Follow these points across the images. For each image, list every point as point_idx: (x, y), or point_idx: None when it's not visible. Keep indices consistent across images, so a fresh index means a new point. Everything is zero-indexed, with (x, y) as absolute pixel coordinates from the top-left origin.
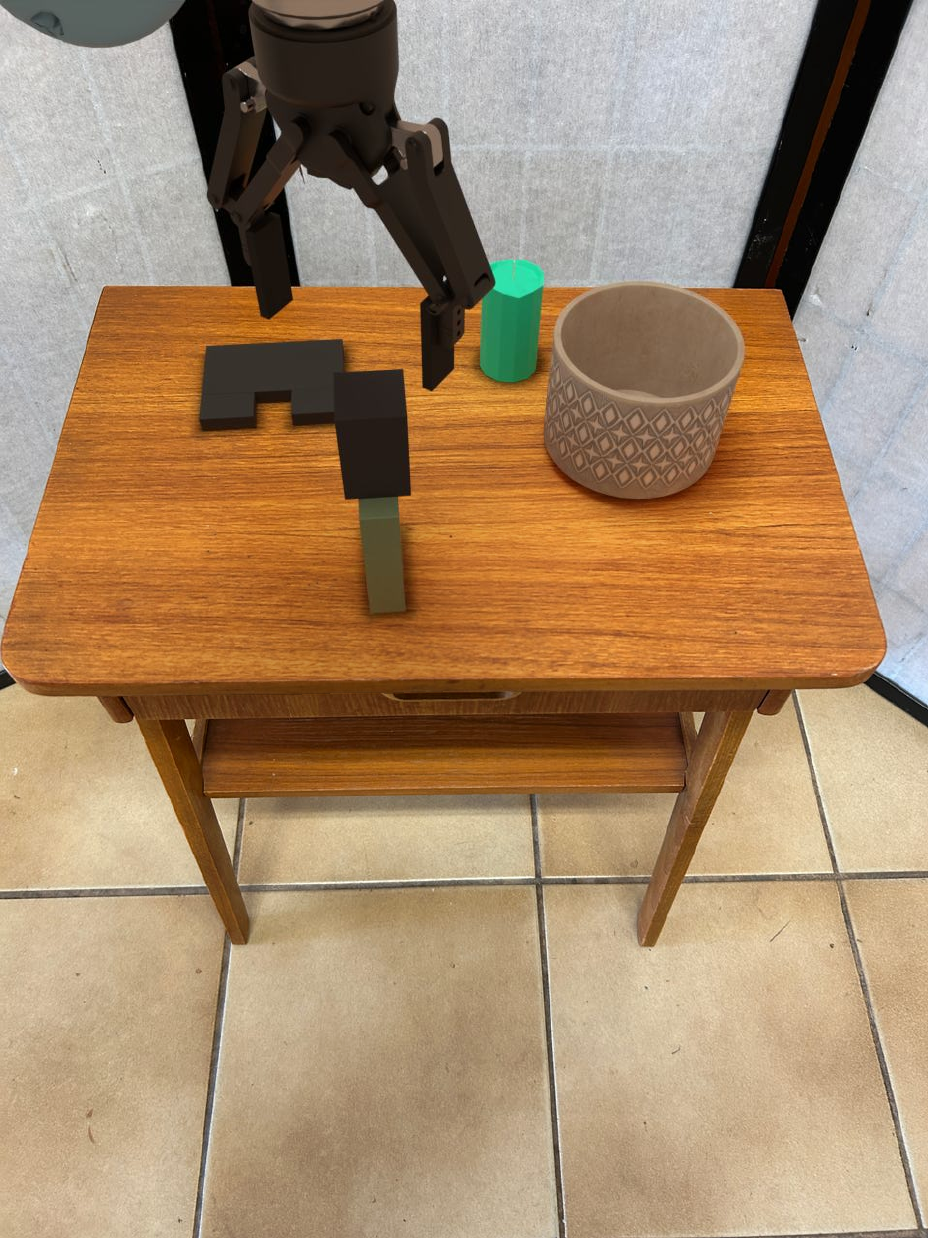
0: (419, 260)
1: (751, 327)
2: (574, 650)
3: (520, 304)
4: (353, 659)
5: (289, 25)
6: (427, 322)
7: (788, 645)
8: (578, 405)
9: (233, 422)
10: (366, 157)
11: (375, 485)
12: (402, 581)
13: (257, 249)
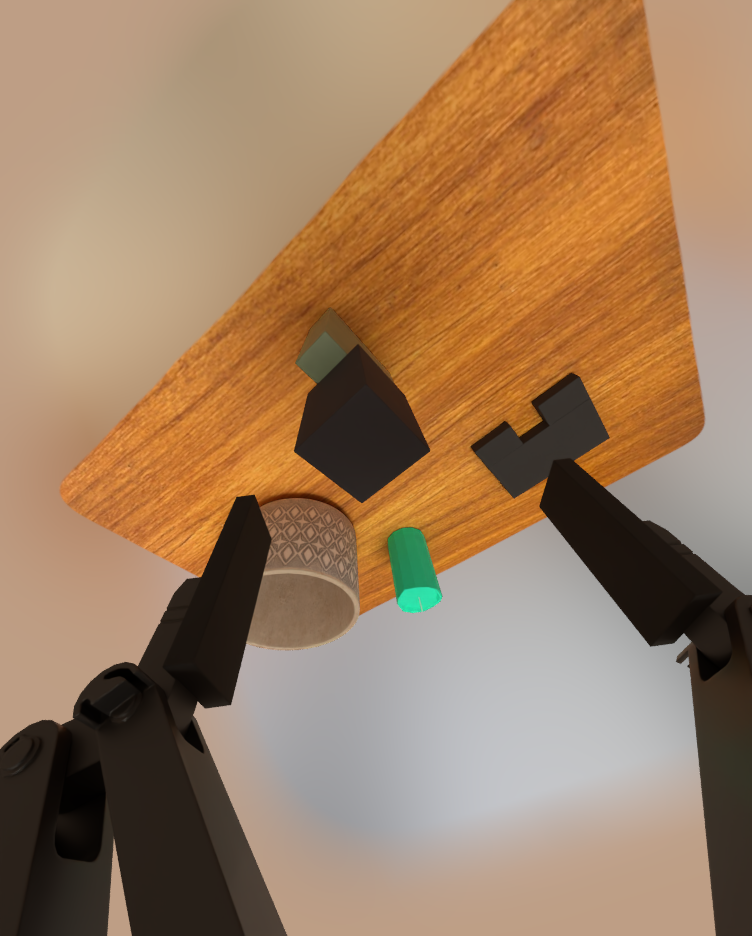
0: (139, 837)
1: None
2: (186, 385)
3: (402, 585)
4: (305, 252)
5: None
6: (189, 619)
7: (99, 478)
8: (297, 548)
9: (550, 393)
10: None
11: (332, 374)
12: (306, 337)
13: (658, 563)
